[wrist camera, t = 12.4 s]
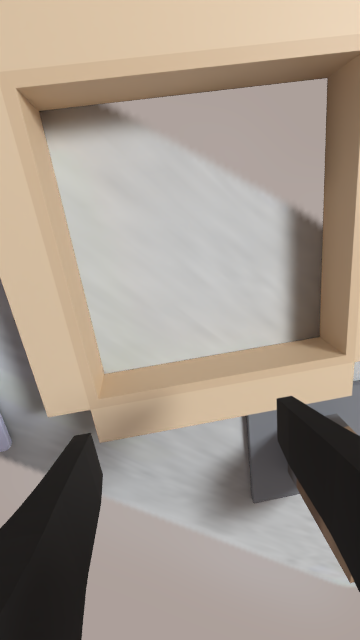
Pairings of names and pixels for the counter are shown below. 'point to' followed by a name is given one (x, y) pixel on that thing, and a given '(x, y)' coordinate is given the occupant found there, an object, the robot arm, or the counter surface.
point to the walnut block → (316, 515)
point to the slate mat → (268, 455)
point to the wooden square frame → (151, 82)
